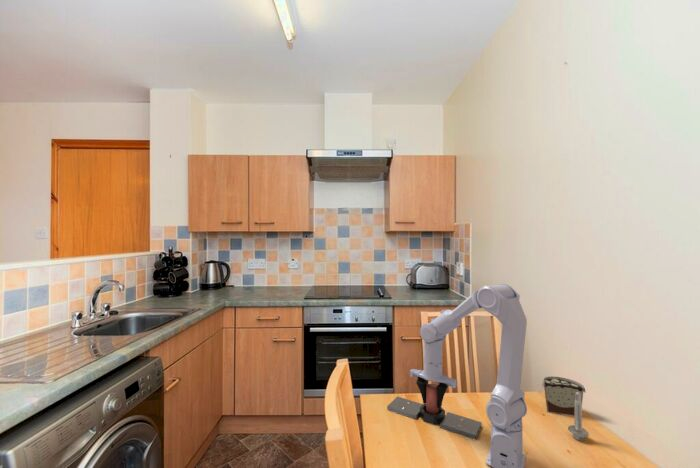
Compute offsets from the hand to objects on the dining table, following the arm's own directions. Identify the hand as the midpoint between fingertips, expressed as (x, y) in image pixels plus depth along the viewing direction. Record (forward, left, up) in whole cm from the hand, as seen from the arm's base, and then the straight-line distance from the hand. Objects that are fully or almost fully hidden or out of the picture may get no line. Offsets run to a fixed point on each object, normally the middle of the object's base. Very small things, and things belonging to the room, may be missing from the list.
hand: (432, 404), depth 98 cm
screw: (+14, -38, -4) cm, 41 cm away
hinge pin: (0, 0, -2) cm, 2 cm away
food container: (+30, -34, -4) cm, 46 cm away
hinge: (0, 0, -4) cm, 4 cm away
